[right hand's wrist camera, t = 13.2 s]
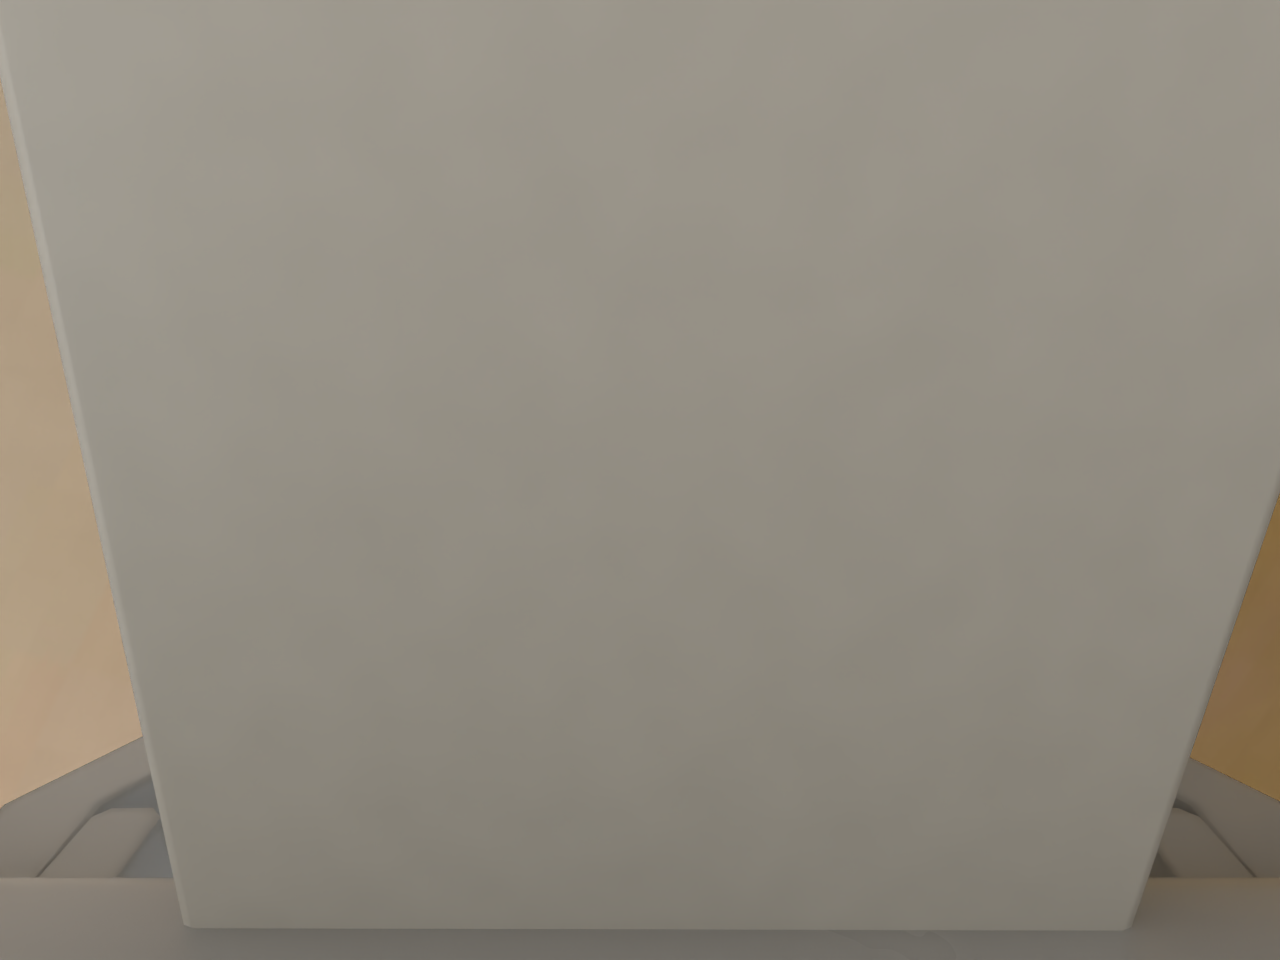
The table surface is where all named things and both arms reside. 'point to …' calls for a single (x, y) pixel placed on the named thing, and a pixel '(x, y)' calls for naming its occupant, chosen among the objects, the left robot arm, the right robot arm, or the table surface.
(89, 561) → the table surface
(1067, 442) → the bar
